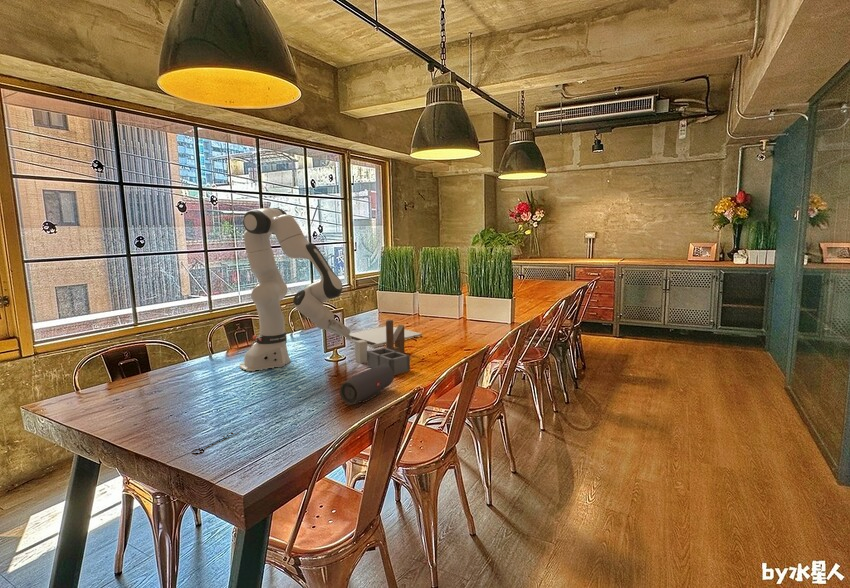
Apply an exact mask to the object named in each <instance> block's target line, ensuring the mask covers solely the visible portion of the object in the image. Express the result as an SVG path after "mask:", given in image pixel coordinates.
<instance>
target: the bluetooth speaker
mask: <svg viewBox="0 0 850 588" xmlns="http://www.w3.org/2000/svg"><path fill="white" fill-rule="evenodd" d="M394 379H395V375H394V374H393V371H392V370H391V368H390V367H389V366H387V365H380V366H377V367H374V368H369V369H367V370H364V371H362V372H360V373H358V374H356V375H354V376H352V377H350V378H349V379H347V380H346V381H344V382H343V383H342V384H341V385H340V387H339V396H340V398H341V400H342V401H343V402H344V403H346V404H347V405H351V406H352V405H355V404H357V403H364V402H363V401H365V402H367V401H369V400H371V399H372V397H373V398H375V397H376V396H377V395H378V394H379V393H380V392H381V391H383V390H384V389H386V388H388V387H389V386H390V385H391V384H392V383H393V382H394ZM375 395H376V396H375ZM370 398H371V399H370ZM368 399H369V400H368ZM366 400H367V401H366ZM360 401H361V402H360Z"/></svg>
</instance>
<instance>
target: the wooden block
mask: <svg viewBox="0 0 850 588" xmlns="http://www.w3.org/2000/svg"><path fill="white" fill-rule="evenodd" d="M385 326H386V345H385V346H386V347H385V348H388V349H391V350H394V351H397V352H400V353H403V352H404V353H405V351H406V350H405V341H404V329H405V325H404V324H398V325H397V329H396V331H395V332H394V334H393V327H394V320H393V319H386V320H385ZM394 342H395V343H394ZM404 353H403V354H404Z"/></svg>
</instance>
